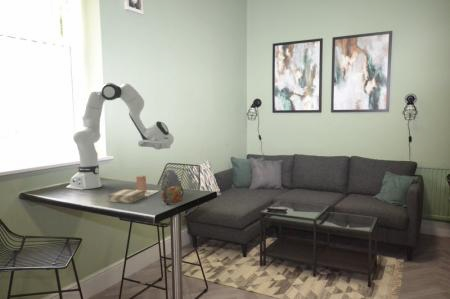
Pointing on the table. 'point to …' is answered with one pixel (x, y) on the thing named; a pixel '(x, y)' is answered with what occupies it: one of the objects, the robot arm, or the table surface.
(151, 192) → the mat
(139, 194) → the deck
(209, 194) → the table surface
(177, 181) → the decorative rock
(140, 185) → the block
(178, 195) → the tin
